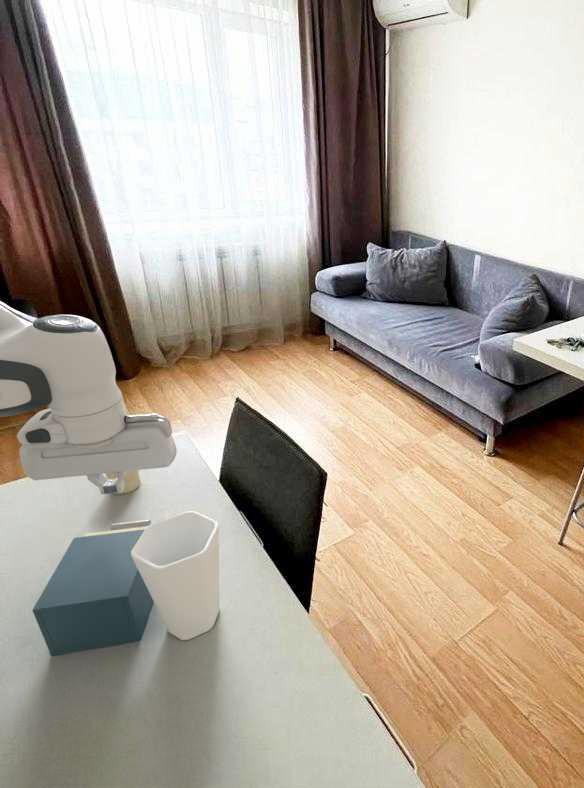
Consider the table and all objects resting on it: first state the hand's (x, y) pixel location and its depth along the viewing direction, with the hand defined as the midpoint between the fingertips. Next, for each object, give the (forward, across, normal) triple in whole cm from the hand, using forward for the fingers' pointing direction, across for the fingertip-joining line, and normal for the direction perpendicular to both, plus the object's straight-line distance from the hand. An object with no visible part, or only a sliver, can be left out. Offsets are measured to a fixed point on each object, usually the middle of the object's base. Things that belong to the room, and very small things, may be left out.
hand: (113, 491), depth 81 cm
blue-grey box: (+16, 0, +10) cm, 18 cm away
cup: (+16, -12, +14) cm, 25 cm away
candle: (+16, +8, -22) cm, 28 cm away
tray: (+15, 0, +5) cm, 16 cm away
